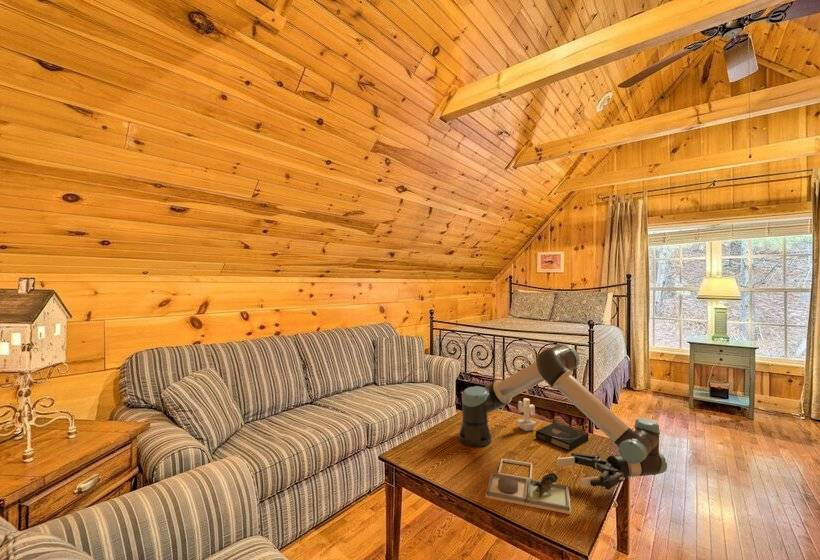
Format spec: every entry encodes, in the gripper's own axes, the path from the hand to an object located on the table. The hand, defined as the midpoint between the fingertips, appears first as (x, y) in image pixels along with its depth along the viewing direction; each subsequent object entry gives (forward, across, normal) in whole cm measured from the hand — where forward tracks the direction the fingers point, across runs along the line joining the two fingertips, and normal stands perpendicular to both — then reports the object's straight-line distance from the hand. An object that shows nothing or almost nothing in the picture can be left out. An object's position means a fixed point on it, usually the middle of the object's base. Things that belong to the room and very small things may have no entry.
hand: (568, 472), depth 133 cm
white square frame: (+10, +19, -9) cm, 24 cm away
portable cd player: (-22, +41, -9) cm, 47 cm away
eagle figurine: (+8, +2, -8) cm, 11 cm away
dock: (+13, +4, -9) cm, 16 cm away
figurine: (-12, +55, -9) cm, 57 cm away
